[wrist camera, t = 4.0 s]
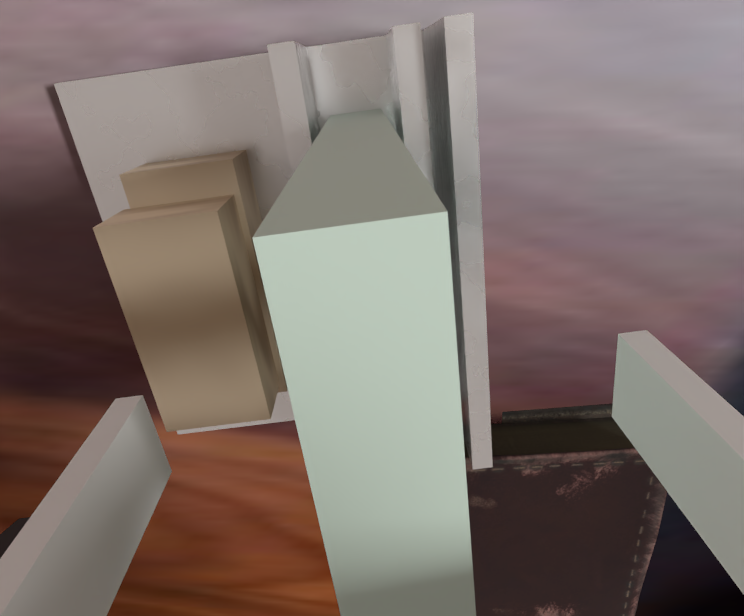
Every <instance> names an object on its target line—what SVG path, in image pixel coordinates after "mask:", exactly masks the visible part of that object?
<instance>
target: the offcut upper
mask: <svg viewBox="0 0 744 616" xmlns="http://www.w3.org/2000/svg"><path fill="white" fill-rule="evenodd" d="M93 231H94V233H95V236H96V239H97V242H98V244H99V247H100V250H101V253H102V255H103V258H104V261H105V264H106V266H107V269H108V272H109V275H110V277H111V280H112V283H113V286H114V288H115V291H116V294H117V297H118V299H119V302H120V305H121V308H122V310H123V313H124V316H125V319H126V321H127V324H128V327H129V330H130V332H131V335H132V338H133V340H134V343H135V346H136V349H137V351H138V354H139V357H140V360H141V362H142V365H143V368H144V371H145V373H146V376H147V379H148V382H149V384H150V387H151V390H152V393H153V395H154V398H155V401H156V404H157V406H158V409H159V412H160V415H161V417H162V420H163V423H164V426H165V428H166V431H167V432H169V431H177V430H186V429H194V428H202V427H210V426H218V425H226V424H234V423H242V422H250V421H259V420H267V419H271V416H272V412H273V408H274V404H275V400H276V396H277V392H278V389H279V385H280V384H279V380H278V375H277V371H276V367H275V363H274V359H273V355H272V351H271V346H270V342H269V338H268V334H267V330H266V326H265V322H264V317H263V313H262V309H261V305H260V301H259V297H258V293H257V288H256V284H255V280H254V276H253V272H252V268H251V263H250V259H249V255H248V251H247V247H246V243H245V239H244V234H243V230H242V226H241V222H240V218H239V214H238V210H237V205H236V201H235V197H234V195H226V196H219V197H212V198H204V199H197V200H190V201H183V202H175V203H168V204H161V205H153V206H146V207H139V208H131V209H124V210H122V211H120V212H119V213H117V214H115V215H114V216H112V217H110V218H108V219H107V220H105V221H103V222H102V223H100V224H98V225H96V226H95V227H93Z"/></svg>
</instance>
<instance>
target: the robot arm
mask: <svg viewBox="0 0 744 616" xmlns="http://www.w3.org/2000/svg"><path fill="white" fill-rule="evenodd" d="M612 418H613V419H614V420H615V422H616V423H617V424H618V426H619V427H620V428H621V430H622V431H623V432H624V434H625V435H626V436H627V438H628V439H629V440H630V442H631V443H632V445H633V446H634V447H635V449H636V450H637V451H638V453H639V454H640V455H641V457H642V458H643V459H644V461H645V462H646V463H647V465H648V466H649V467H650V469H651V470H652V472H653V473H654V474H655V476H656V477H657V478H658V480H659V481H660V482H661V484H662V485H663V486H664V488H665V489H666V490H667V492H668V493H669V494H670V496H671V497H672V498H673V500H674V501H675V503H676V504H677V505H678V507H679V508H680V509H681V511H682V512H683V513H684V515H685V516H686V517H687V519H688V520H689V521H690V523H691V524H692V525H693V527H694V528H695V530H696V531H697V532H698V534H699V535H700V536H701V538H702V539H703V540H704V542H705V543H706V544H707V546H708V547H709V548H710V550H711V551H712V552H713V554H714V555H715V557H716V558H717V559H718V561H719V562H720V563H721V565H722V566H723V567H724V569H725V570H726V571H727V573H728V574H729V575H730V577H731V578H732V579H733V581H734V582H735V584H736V585H737V586H738V588H739V589H740V590H741V592H742V593H743V594H744V417H743V416H742V415H741V414H740V413H739V412H738V411H737V410H736V409H734V408H733V407H732V406H731V405H730V404H729V403H728V402H727V401H726V400H724V399H723V398H722V397H721V396H720V395H719V394H718V393H717V392H715V391H714V390H713V389H712V388H711V387H710V386H709V385H708V384H706V383H705V382H704V381H703V380H702V379H701V378H700V377H699V376H698V375H696V374H695V373H694V372H693V371H692V370H691V369H690V368H689V367H687V366H686V365H685V364H684V363H683V362H682V361H681V360H680V359H678V358H677V357H676V356H675V355H674V354H673V353H672V352H671V351H670V350H668V349H667V348H666V347H665V346H664V345H663V344H662V343H661V342H659V341H658V340H657V339H656V338H655V337H654V336H653V335H652V334H651V333H649V332H648V331H647V330H644V331H636V332H628V333H621V334H618V344H617V356H616V369H615V381H614V394H613V406H612ZM171 472H172V471H171V468H170V465H169V463H168V460H167V457H166V455H165V452H164V450H163V447H162V444H161V442H160V439H159V436H158V434H157V431H156V429H155V426H154V423H153V421H152V418H151V415H150V413H149V410H148V407H147V405H146V402H145V400H144V397H143V395H140V396H132V397H124V398H116V399H115V400H114V402H113V403H112V404H111V406H110V407H109V409H108V410H107V411H106V413H105V414H104V416H103V417H102V418H101V420H100V421H99V422H98V424H97V425H96V427H95V428H94V429H93V431H92V432H91V434H90V435H89V436H88V438H87V439H86V441H85V442H84V443H83V445H82V446H81V447H80V449H79V450H78V452H77V453H76V454H75V456H74V457H73V459H72V460H71V461H70V463H69V464H68V465H67V467H66V468H65V470H64V471H63V472H62V474H61V475H60V477H59V478H58V479H57V481H56V482H55V484H54V485H53V486H52V488H51V489H50V490H49V492H48V493H47V495H46V496H45V497H44V499H43V500H42V502H41V503H40V504H39V506H38V507H37V508H36V510H35V511H34V513H33V514H32V515H31V517H28V518H20V519H18V520H17V521H16V522H14V523H13V524H12V525H11V526H10V527H9V528H7V529H6V530H5V531H4V532H3V533H2V534H0V616H107V614H108V612H109V609H110V607H111V605H112V603H113V600H114V598H115V596H116V594H117V592H118V589H119V587H120V585H121V583H122V581H123V578H124V576H125V574H126V572H127V569H128V567H129V565H130V563H131V561H132V558H133V556H134V554H135V552H136V550H137V547H138V545H139V543H140V541H141V538H142V536H143V534H144V532H145V530H146V527H147V525H148V523H149V521H150V519H151V516H152V514H153V512H154V510H155V507H156V505H157V503H158V501H159V499H160V496H161V494H162V492H163V490H164V488H165V485H166V483H167V481H168V479H169V476H170V474H171Z"/></svg>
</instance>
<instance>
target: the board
mask: <svg viewBox="0 0 744 616" xmlns="http://www.w3.org/2000/svg"><path fill="white" fill-rule="evenodd" d="M252 239H253V243H254V247H255V251H256V256H257V260H258V264H259V268H260V273H261V277H262V281H263V285H264V290H265V294H266V298H267V303H268V307H269V311H270V315H271V320H272V324H273V328H274V332H275V337H276V341H277V345H278V349H279V354H280V358H281V362H282V366H283V371H284V375H285V379H286V384H287V388H288V392H289V396H290V401H291V405H292V409H293V413H294V418H295V422H296V426H297V430H298V435H299V439H300V443H301V448H302V452H303V456H304V460H305V465H306V469H307V473H308V477H309V482H310V486H311V490H312V494H313V499H314V503H315V507H316V511H317V516H318V520H319V524H320V529H321V533H322V537H323V541H324V546H325V550H326V554H327V558H328V563H329V567H330V571H331V575H332V580H333V584H334V588H335V592H336V597H337V601H338V605H339V610H340V614H341V616H476V606H475V592H474V578H473V564H472V550H471V535H470V521H469V507H468V493H467V479H466V465H465V451H464V437H463V422H462V408H461V394H460V380H459V366H458V352H457V338H456V324H455V309H454V295H453V281H452V267H451V253H450V239H449V225H448V211H447V210H446V208H445V207H444V205H443V204H442V202H441V200H440V199H439V197H438V196H437V194H436V193H435V191H434V190H433V188H432V187H431V185H430V184H429V182H428V180H427V179H426V177H425V176H424V174H423V173H422V171H421V170H420V168H419V167H418V165H417V163H416V162H415V160H414V159H413V157H412V156H411V154H410V153H409V151H408V150H407V148H406V147H405V145H404V143H403V142H402V140H401V139H400V137H399V136H398V134H397V133H396V131H395V130H394V128H393V126H392V125H391V123H390V122H389V120H388V119H387V117H386V116H385V114H384V113H383V111H382V109H381V108H380V109H373V110H366V111H359V112H351V113H344V114H337V115H330V117H329V119H328V120H327V122H326V123H325V125H324V126H323V128H322V130H321V131H320V133H319V134H318V136H317V137H316V139H315V140H314V142H313V144H312V145H311V147H310V148H309V150H308V151H307V153H306V155H305V156H304V158H303V159H302V161H301V162H300V164H299V165H298V167H297V169H296V170H295V172H294V173H293V175H292V176H291V178H290V179H289V181H288V183H287V184H286V186H285V187H284V189H283V190H282V192H281V194H280V195H279V197H278V198H277V200H276V201H275V203H274V204H273V206H272V208H271V209H270V211H269V212H268V214H267V215H266V217H265V219H264V220H263V222H262V223H261V225H260V226H259V228H258V229H257V231H256V233H255V234H254V236H253V237H252Z"/></svg>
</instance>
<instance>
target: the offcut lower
mask: <svg viewBox="0 0 744 616" xmlns="http://www.w3.org/2000/svg"><path fill="white" fill-rule="evenodd" d="M119 176H120V179H121V182H122V185H123V188H124V191H125V194H126V197H127V200H128V203H129V206H130V209H131V208H139V207H146V206H153V205H161V204H168V203H175V202H183V201H190V200H197V199H204V198H212V197H219V196H226V195H234V197H235V201H236V205H237V210H238V214H239V218H240V222H241V226H242V230H243V234H244V239H245V243H246V247H247V251H248V255H249V259H250V263H251V268H252V272H253V276H254V280H255V284H256V288H257V293H258V297H259V301H260V305H261V309H262V313H263V317H264V322H265V326H266V330H267V334H268V338H269V342H270V346H271V351H272V355H273V359H274V363H275V367H276V371H277V375H278V380H279V384H280V385H279V389H278V392H286V391H287V390H288V388H287V384H286V379H285V375H284V371H283V366H282V362H281V358H280V354H279V349H278V345H277V341H276V337H275V332H274V328H273V324H272V320H271V315H270V311H269V307H268V303H267V298H266V294H265V290H264V285H263V281H262V277H261V273H260V268H259V264H258V260H257V256H256V251H255V247H254V243H253V239H252V237H253V236H254V234H255V233H256V231H257V229H258V228H259V226H260V225H261V223H262V219H261V214H260V210H259V206H258V201H257V197H256V192H255V188H254V183H253V179H252V174H251V170H250V165H249V161H248V156H247V152H246V150H240V151H233V152H226V153H218V154H211V155H204V156H197V157H190V158H183V159H176V160H168V161H161V162H154V163H147V164H143V165H141V166H139V167H136V168H134V169H132V170H129V171H127V172H125V173H122V174H120V175H119ZM278 392H277V393H278Z"/></svg>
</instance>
